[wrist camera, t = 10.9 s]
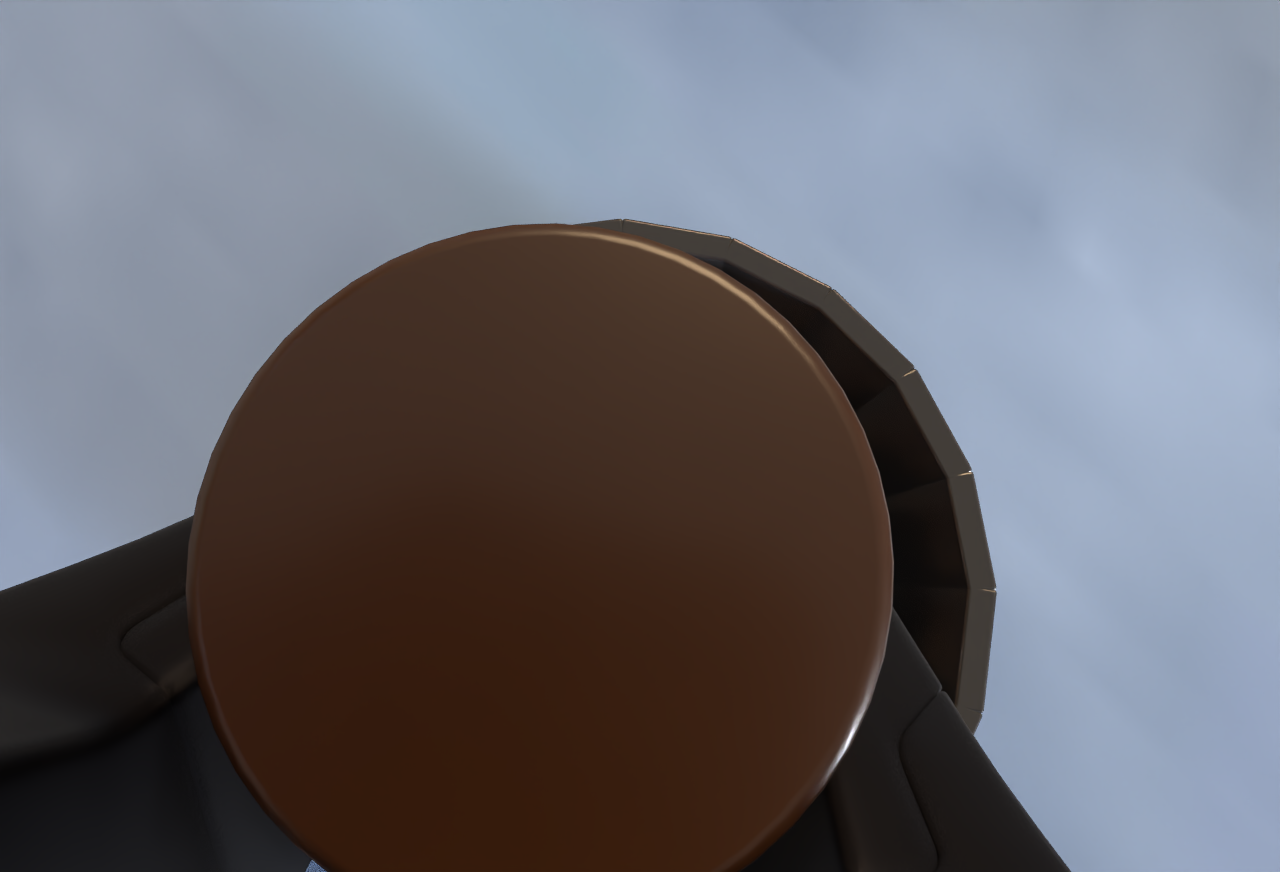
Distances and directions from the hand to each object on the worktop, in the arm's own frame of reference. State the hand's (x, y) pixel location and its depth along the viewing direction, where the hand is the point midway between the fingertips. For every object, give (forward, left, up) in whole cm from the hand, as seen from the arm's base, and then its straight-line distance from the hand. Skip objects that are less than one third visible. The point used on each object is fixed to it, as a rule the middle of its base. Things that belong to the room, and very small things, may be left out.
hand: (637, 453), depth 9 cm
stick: (-1, +1, -7) cm, 7 cm away
